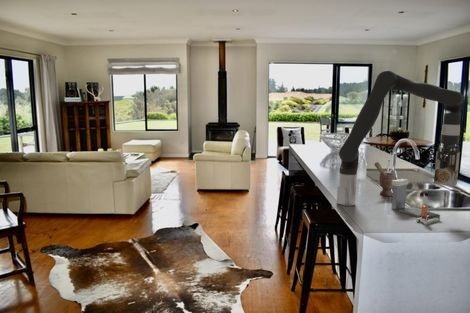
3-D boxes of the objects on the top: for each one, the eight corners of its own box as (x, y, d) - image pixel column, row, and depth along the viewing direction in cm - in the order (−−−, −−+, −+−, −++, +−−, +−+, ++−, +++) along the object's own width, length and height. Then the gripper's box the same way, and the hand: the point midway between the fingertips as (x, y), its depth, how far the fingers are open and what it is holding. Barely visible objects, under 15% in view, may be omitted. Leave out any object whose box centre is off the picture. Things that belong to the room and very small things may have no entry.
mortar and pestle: (378, 197, 224) (380, 164, 221) (370, 193, 233) (373, 161, 230) (396, 196, 226) (398, 163, 223) (388, 192, 235) (390, 161, 231)
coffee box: (457, 184, 184) (460, 151, 181) (454, 186, 179) (457, 153, 177) (436, 181, 190) (439, 149, 187) (433, 183, 185) (436, 150, 183)
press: (425, 224, 178) (428, 192, 175) (380, 210, 199) (382, 182, 196) (446, 218, 187) (449, 187, 185) (401, 205, 208) (403, 178, 205)
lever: (424, 223, 179) (425, 206, 178) (419, 221, 182) (420, 205, 180) (427, 222, 181) (428, 206, 179) (422, 221, 183) (423, 204, 181)
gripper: (449, 135, 174) (446, 170, 177) (466, 133, 181) (462, 167, 184) (434, 133, 180) (430, 167, 183) (450, 132, 188) (447, 165, 190)
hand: (446, 167), depth 183 cm, fingers closed on coffee box, 7 cm apart
